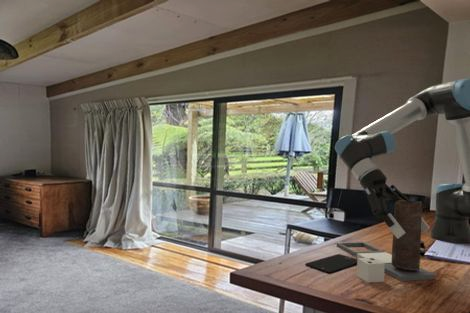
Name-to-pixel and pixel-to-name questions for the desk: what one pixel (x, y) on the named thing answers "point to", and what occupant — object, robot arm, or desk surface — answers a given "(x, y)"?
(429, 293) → the desk surface
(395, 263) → the candle
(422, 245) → the black chunky piece
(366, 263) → the die
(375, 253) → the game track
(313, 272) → the desk surface
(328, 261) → the cell phone
